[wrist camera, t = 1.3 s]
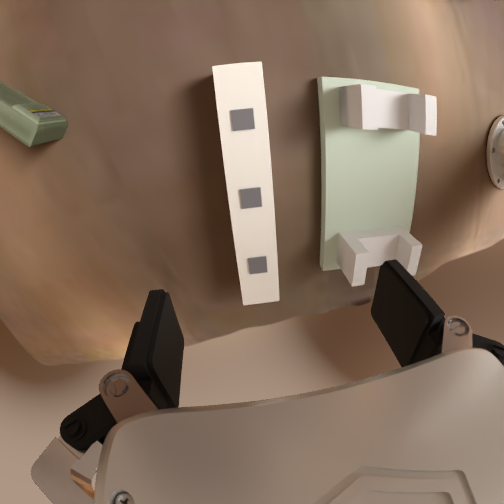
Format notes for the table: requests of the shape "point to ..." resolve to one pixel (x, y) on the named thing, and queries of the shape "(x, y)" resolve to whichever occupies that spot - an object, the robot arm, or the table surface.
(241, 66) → the power strip
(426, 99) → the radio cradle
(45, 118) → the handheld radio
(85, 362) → the table surface
